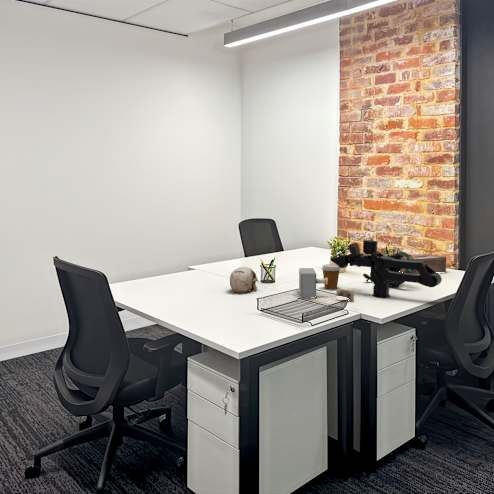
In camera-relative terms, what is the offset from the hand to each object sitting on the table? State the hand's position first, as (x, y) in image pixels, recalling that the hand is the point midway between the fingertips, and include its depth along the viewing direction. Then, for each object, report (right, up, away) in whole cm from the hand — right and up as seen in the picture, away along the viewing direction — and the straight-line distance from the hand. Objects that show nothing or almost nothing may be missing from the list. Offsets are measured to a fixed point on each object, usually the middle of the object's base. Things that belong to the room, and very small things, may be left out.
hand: (334, 258), depth 267 cm
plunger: (-9, -12, -13) cm, 20 cm away
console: (-15, -18, -8) cm, 25 cm away
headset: (+30, -15, +12) cm, 36 cm away
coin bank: (-46, -17, +3) cm, 49 cm away
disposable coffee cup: (-1, -16, +7) cm, 17 cm away
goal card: (+1, -19, -22) cm, 30 cm away
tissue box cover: (+60, -10, +51) cm, 80 cm away
